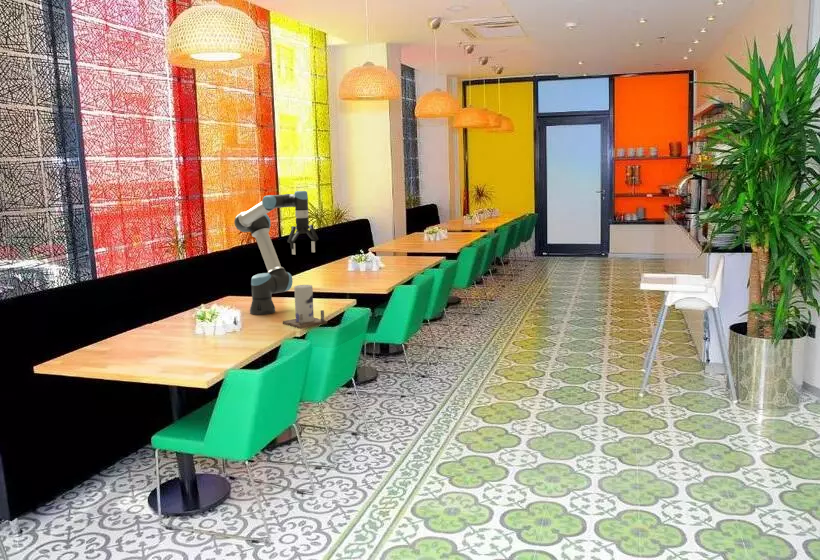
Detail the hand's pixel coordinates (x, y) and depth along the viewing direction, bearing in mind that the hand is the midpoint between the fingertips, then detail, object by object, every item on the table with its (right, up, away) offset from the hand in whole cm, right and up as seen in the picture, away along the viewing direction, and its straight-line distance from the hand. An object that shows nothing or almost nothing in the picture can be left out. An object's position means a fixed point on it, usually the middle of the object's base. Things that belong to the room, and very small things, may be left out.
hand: (303, 253), depth 433 cm
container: (+4, -39, -20) cm, 44 cm away
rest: (+4, -40, -20) cm, 45 cm away
